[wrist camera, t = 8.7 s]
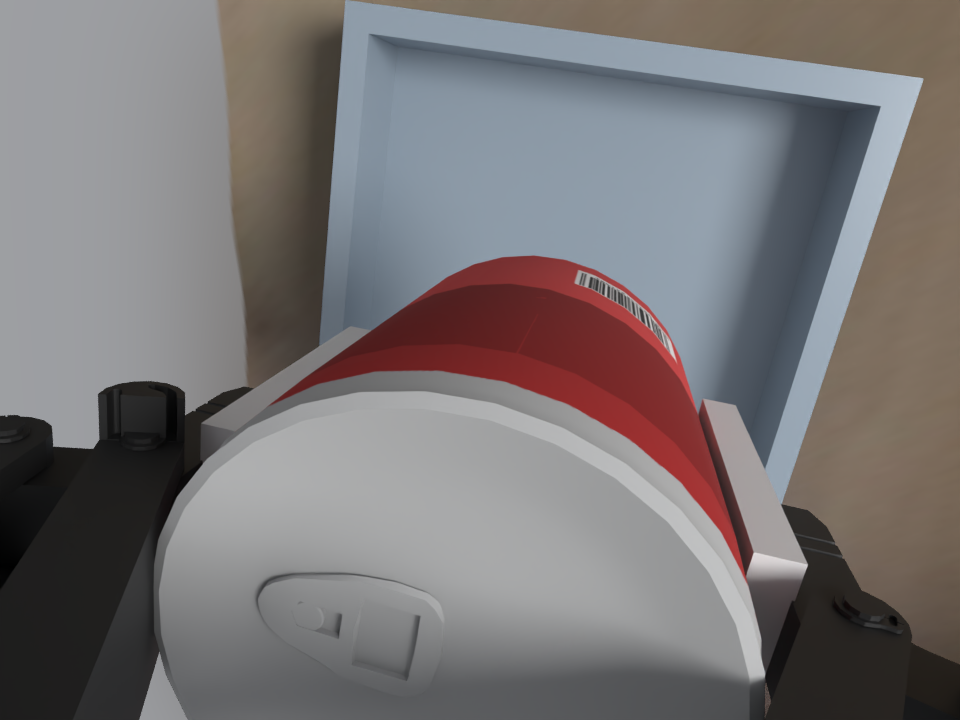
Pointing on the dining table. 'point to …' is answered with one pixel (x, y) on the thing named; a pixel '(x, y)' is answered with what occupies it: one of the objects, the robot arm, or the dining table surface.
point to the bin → (617, 188)
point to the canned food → (468, 526)
